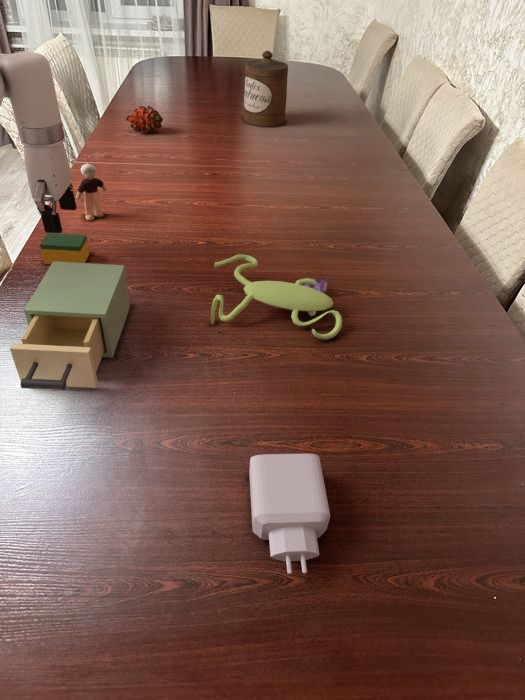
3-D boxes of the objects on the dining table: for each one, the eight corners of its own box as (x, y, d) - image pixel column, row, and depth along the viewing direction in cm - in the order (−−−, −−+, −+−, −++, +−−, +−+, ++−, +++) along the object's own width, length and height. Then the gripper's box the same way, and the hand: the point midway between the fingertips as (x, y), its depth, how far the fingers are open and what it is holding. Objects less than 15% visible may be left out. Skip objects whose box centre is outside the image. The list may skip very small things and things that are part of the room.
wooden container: (235, 118, 188) (236, 48, 173) (265, 111, 196) (269, 44, 182) (263, 129, 180) (267, 58, 166) (293, 122, 188) (299, 53, 174)
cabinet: (112, 357, 87) (105, 314, 81) (36, 354, 87) (23, 310, 81) (130, 306, 98) (124, 265, 93) (62, 303, 98) (53, 261, 92)
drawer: (87, 411, 77) (79, 375, 72) (9, 407, 76) (-5, 371, 72) (115, 333, 91) (110, 299, 86) (49, 330, 90) (40, 295, 86)
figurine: (219, 270, 110) (219, 247, 106) (345, 289, 107) (350, 266, 104) (194, 322, 96) (193, 297, 92) (338, 346, 93) (343, 321, 90)
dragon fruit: (166, 138, 172) (130, 141, 173) (166, 116, 174) (131, 119, 175) (159, 121, 164) (121, 124, 165) (159, 98, 166) (122, 101, 167)
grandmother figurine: (89, 224, 122) (80, 170, 114) (77, 219, 123) (68, 166, 115) (113, 212, 127) (106, 160, 119) (102, 208, 128) (94, 156, 120)
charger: (255, 585, 60) (249, 476, 71) (334, 582, 61) (315, 474, 72) (257, 565, 57) (250, 454, 68) (340, 562, 57) (320, 453, 69)
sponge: (44, 263, 108) (39, 244, 105) (51, 251, 112) (47, 232, 109) (83, 266, 108) (79, 246, 105) (89, 253, 112) (86, 234, 109)
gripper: (36, 116, 99) (56, 200, 111) (1, 149, 86) (27, 241, 98) (76, 118, 100) (91, 202, 111) (47, 151, 87) (68, 242, 98)
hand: (61, 220), depth 104 cm, fingers open, 9 cm apart
